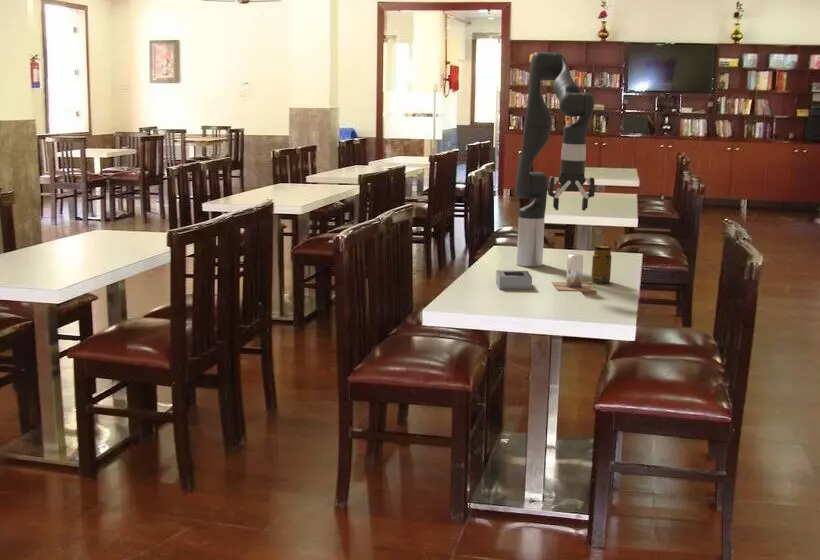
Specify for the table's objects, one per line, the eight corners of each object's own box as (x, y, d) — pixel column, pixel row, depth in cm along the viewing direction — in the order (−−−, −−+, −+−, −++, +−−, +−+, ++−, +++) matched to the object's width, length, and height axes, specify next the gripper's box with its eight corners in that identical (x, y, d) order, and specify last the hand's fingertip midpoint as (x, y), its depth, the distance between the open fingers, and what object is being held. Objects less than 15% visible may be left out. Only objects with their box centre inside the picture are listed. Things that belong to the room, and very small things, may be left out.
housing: (495, 285, 296) (496, 270, 295) (527, 286, 296) (527, 270, 295) (499, 292, 286) (499, 276, 285) (531, 292, 286) (532, 277, 285)
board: (551, 285, 297) (551, 282, 297) (588, 286, 297) (588, 282, 297) (557, 293, 285) (557, 290, 285) (596, 294, 285) (596, 290, 285)
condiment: (595, 279, 308) (597, 244, 306) (619, 282, 304) (621, 246, 301) (586, 283, 303) (588, 246, 300) (610, 286, 298) (612, 249, 295)
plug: (565, 284, 293) (566, 253, 291) (580, 284, 293) (581, 253, 291) (567, 287, 289) (568, 256, 286) (582, 287, 289) (584, 256, 286)
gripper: (593, 157, 290) (590, 208, 294) (548, 156, 290) (545, 207, 293) (598, 160, 283) (595, 212, 286) (552, 159, 282) (549, 211, 286)
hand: (569, 210), depth 290 cm, fingers open, 8 cm apart
